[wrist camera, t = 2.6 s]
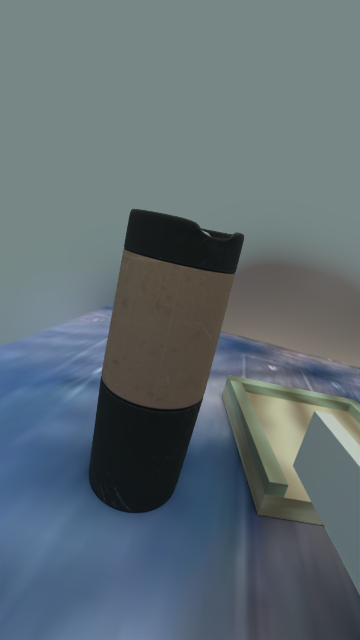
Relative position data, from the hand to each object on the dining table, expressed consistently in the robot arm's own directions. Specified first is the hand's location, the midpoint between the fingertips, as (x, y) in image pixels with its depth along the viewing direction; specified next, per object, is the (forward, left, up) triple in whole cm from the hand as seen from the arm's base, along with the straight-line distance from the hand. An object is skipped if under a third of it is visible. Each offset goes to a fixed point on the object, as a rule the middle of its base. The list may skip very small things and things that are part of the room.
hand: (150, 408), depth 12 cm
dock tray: (-19, -17, -12) cm, 28 cm away
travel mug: (0, -10, -12) cm, 16 cm away
